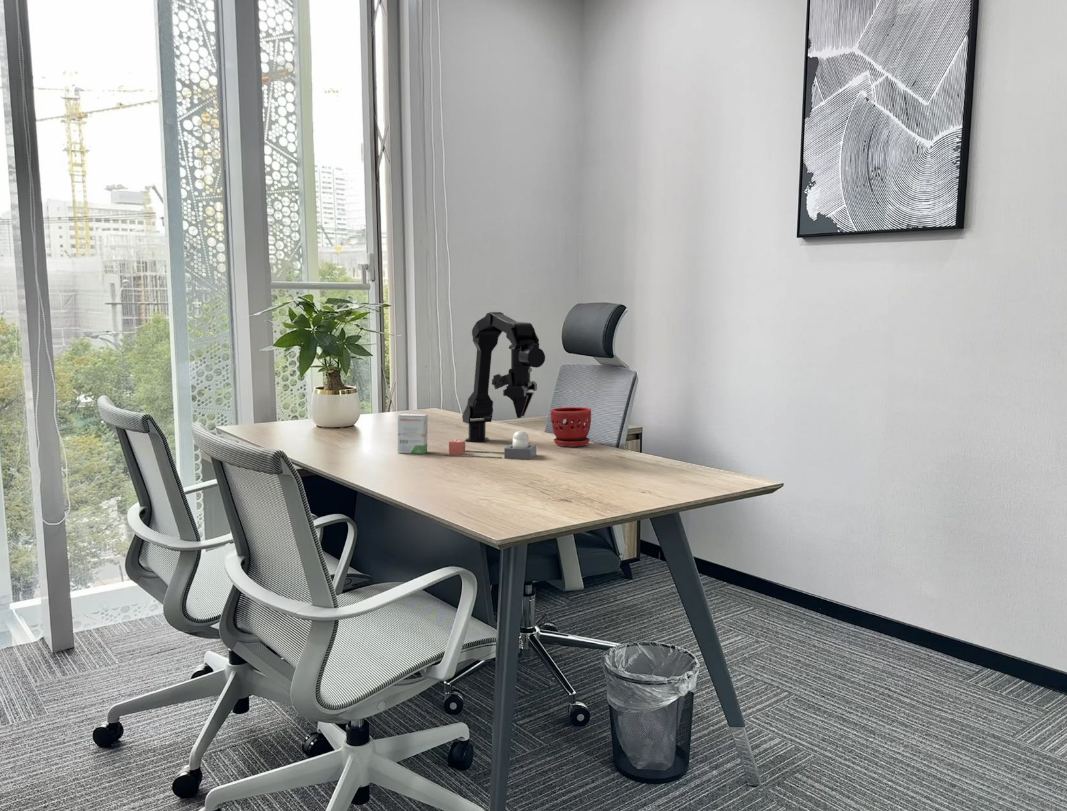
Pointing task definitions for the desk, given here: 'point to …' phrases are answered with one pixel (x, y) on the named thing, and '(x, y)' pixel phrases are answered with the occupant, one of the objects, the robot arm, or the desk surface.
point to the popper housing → (519, 452)
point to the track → (476, 456)
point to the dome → (520, 440)
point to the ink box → (412, 433)
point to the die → (457, 447)
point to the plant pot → (571, 426)
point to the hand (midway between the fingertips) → (520, 417)
